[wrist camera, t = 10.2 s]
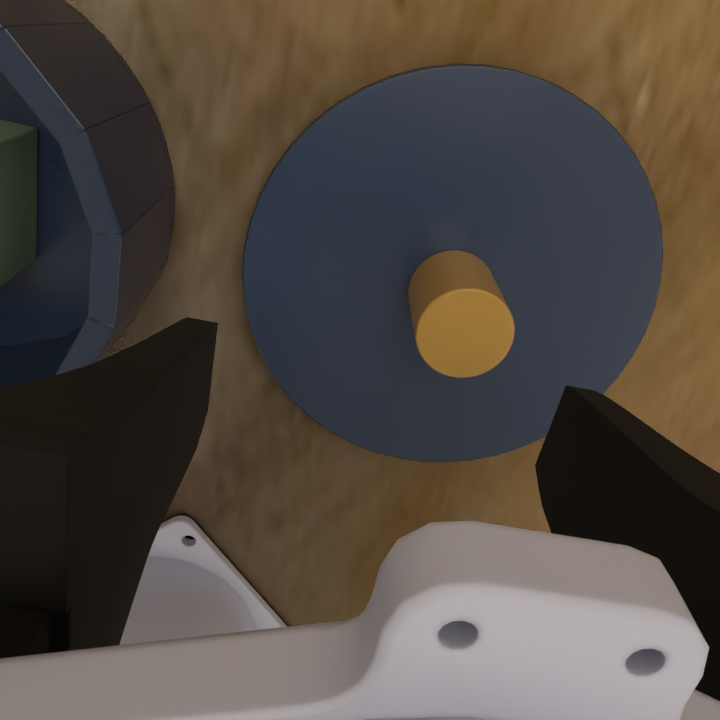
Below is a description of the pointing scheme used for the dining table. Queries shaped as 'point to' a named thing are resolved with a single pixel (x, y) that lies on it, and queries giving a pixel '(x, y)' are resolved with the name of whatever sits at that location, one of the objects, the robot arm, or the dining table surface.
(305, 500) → the dining table surface
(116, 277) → the pot
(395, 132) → the lid
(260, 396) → the dining table surface
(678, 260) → the dining table surface
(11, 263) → the block
